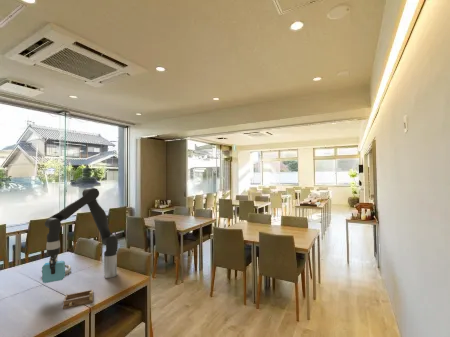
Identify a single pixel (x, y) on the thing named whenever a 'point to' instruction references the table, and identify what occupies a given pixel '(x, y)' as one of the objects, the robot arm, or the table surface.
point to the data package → (58, 272)
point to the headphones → (67, 269)
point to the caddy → (78, 299)
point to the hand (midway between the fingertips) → (53, 272)
